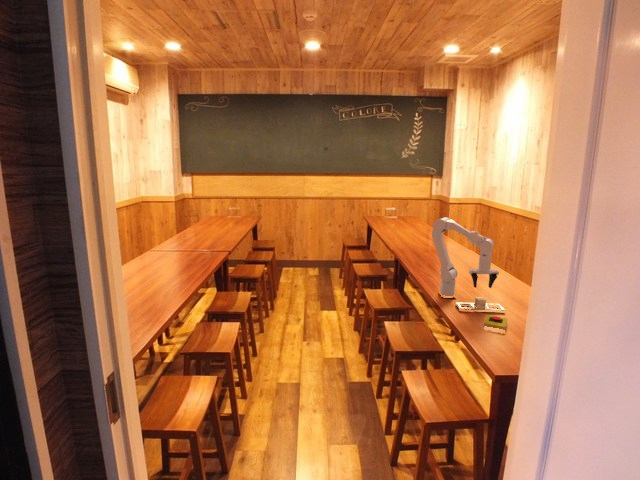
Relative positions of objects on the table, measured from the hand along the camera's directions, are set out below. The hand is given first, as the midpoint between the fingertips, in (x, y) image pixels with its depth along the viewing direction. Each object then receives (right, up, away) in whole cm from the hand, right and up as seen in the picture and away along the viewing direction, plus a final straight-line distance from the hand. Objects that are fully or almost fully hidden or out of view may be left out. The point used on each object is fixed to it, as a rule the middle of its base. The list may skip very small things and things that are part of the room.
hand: (482, 287), depth 207 cm
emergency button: (-4, -16, -25) cm, 30 cm away
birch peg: (-4, -11, -5) cm, 13 cm away
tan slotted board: (-4, -11, -6) cm, 13 cm away
